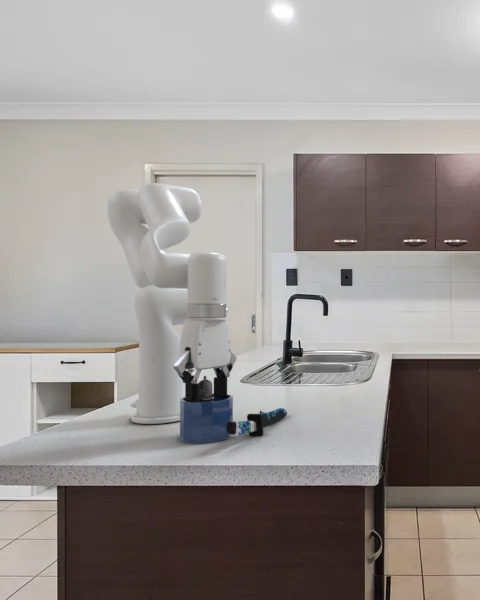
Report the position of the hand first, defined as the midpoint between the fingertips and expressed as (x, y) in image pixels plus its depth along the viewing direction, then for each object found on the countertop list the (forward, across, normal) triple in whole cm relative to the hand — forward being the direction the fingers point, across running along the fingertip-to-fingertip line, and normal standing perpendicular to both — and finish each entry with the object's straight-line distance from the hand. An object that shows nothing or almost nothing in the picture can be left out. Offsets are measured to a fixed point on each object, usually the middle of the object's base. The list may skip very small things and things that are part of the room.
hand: (206, 399), depth 106 cm
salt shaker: (+7, 0, 0) cm, 7 cm away
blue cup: (+8, 0, 0) cm, 8 cm away
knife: (+8, -8, +8) cm, 14 cm away
